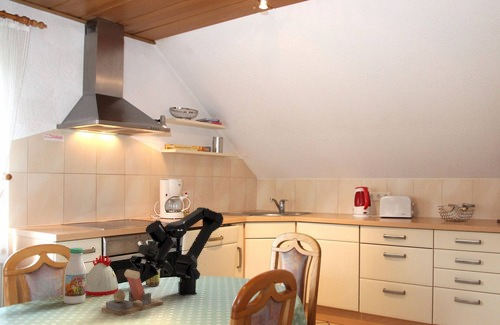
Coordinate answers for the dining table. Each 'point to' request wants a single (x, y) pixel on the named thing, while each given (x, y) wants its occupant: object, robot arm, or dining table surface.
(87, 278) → the white and red dome
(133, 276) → the lever
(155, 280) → the sauce bottle
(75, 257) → the milk bottle
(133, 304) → the base
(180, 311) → the dining table surface
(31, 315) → the dining table surface
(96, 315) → the dining table surface
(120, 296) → the walnut
